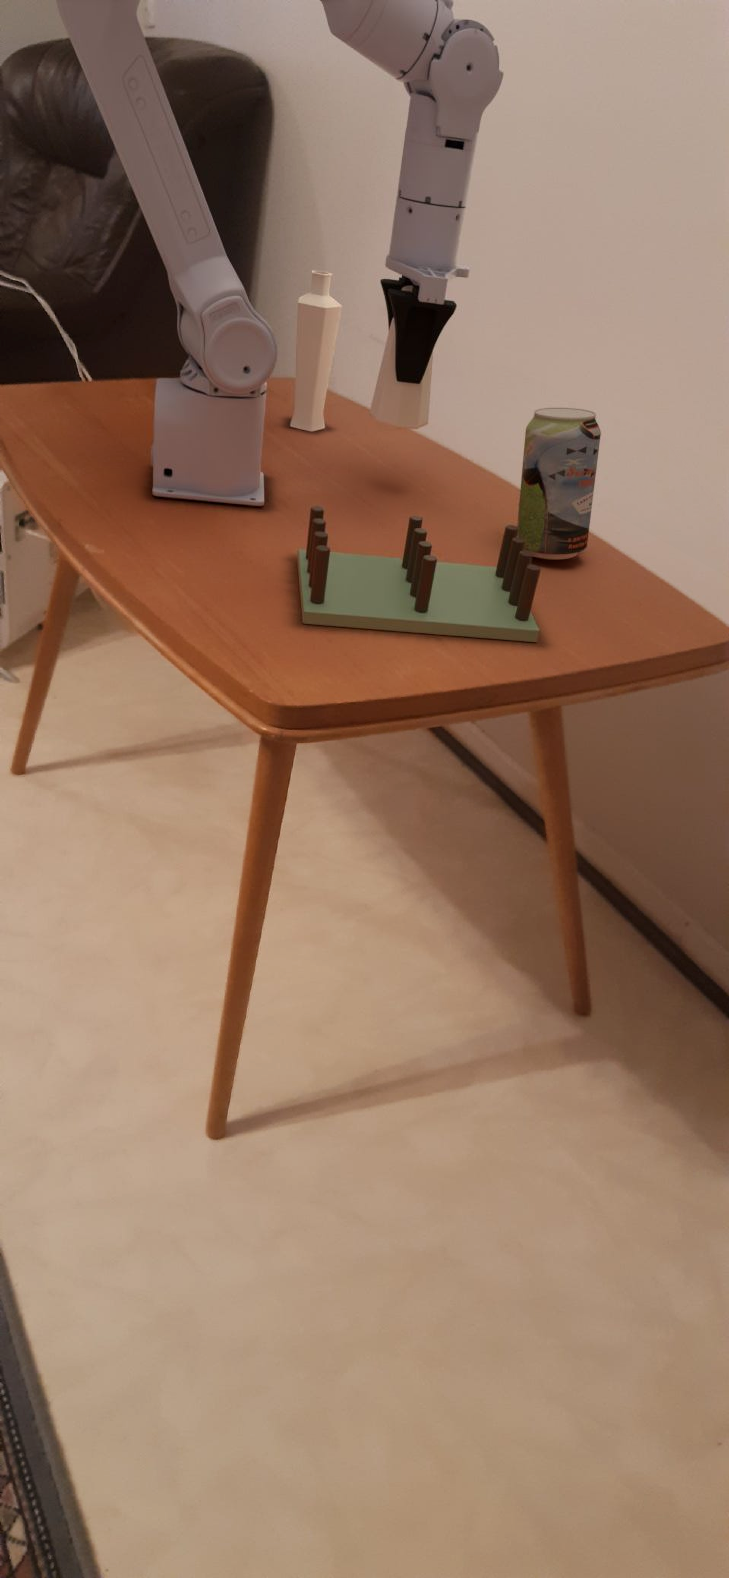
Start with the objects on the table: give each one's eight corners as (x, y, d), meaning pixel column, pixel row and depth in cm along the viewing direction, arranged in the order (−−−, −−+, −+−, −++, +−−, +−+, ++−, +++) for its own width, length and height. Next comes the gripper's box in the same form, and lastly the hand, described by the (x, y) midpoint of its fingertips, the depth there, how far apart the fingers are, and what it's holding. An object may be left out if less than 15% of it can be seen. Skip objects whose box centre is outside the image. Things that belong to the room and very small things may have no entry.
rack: (302, 624, 71) (309, 556, 69) (296, 560, 80) (303, 498, 78) (537, 642, 74) (553, 578, 71) (506, 579, 83) (519, 519, 80)
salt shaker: (357, 413, 93) (374, 281, 87) (401, 409, 96) (421, 281, 90) (394, 431, 90) (415, 295, 84) (439, 427, 93) (463, 296, 87)
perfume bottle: (327, 434, 108) (344, 280, 100) (286, 429, 108) (299, 273, 100) (329, 422, 112) (346, 272, 104) (289, 417, 112) (302, 265, 103)
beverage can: (566, 575, 85) (604, 429, 78) (488, 548, 88) (518, 405, 81) (593, 556, 90) (632, 416, 83) (518, 530, 92) (549, 393, 86)
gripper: (497, 220, 78) (463, 403, 86) (463, 198, 90) (436, 360, 97) (406, 207, 77) (380, 393, 85) (384, 186, 89) (363, 351, 96)
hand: (404, 375), depth 91 cm, fingers closed on salt shaker, 4 cm apart
